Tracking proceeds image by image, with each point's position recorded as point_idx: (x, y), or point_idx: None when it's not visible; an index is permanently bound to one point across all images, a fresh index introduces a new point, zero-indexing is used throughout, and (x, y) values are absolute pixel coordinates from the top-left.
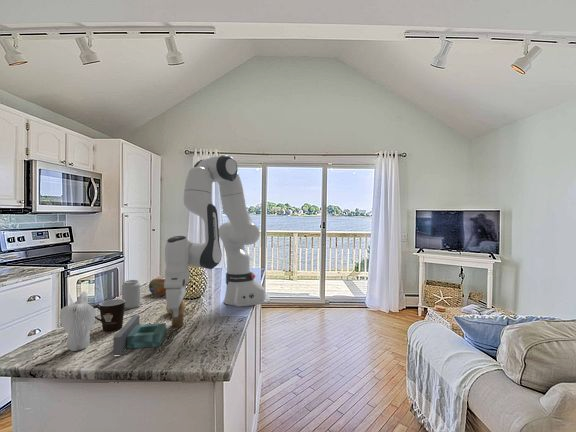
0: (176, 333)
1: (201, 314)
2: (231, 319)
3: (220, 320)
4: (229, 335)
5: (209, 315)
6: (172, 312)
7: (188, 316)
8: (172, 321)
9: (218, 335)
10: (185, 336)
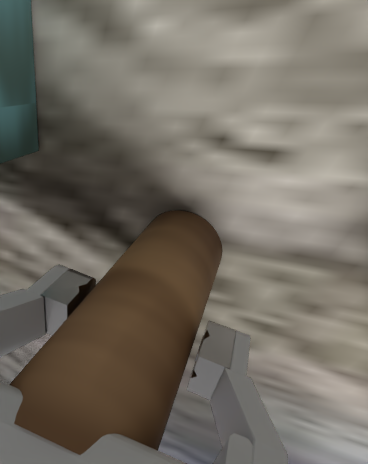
0: (48, 214)
1: (340, 417)
2: (169, 454)
3: (175, 427)
4: (5, 377)
5: (286, 433)
6: (107, 283)
7: (357, 353)
8: (152, 232)
9: (7, 354)
10: (3, 248)
